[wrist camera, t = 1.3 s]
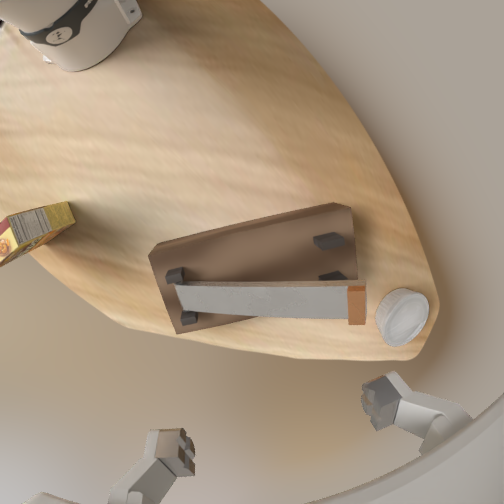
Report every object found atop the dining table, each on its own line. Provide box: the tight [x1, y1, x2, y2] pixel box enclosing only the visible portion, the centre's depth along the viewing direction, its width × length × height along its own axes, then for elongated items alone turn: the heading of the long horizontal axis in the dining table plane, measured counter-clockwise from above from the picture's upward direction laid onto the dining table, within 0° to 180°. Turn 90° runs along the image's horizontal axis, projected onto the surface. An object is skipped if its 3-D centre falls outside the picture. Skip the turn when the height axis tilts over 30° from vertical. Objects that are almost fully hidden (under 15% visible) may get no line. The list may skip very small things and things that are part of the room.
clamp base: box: [148, 202, 358, 334], centre depth 37 cm, size 12×27×9 cm, turn 102°
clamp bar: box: [174, 280, 367, 325], centre depth 29 cm, size 4×23×2 cm
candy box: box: [0, 201, 76, 267], centre depth 28 cm, size 9×4×15 cm, turn 113°
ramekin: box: [375, 288, 429, 347], centre depth 45 cm, size 11×11×5 cm
